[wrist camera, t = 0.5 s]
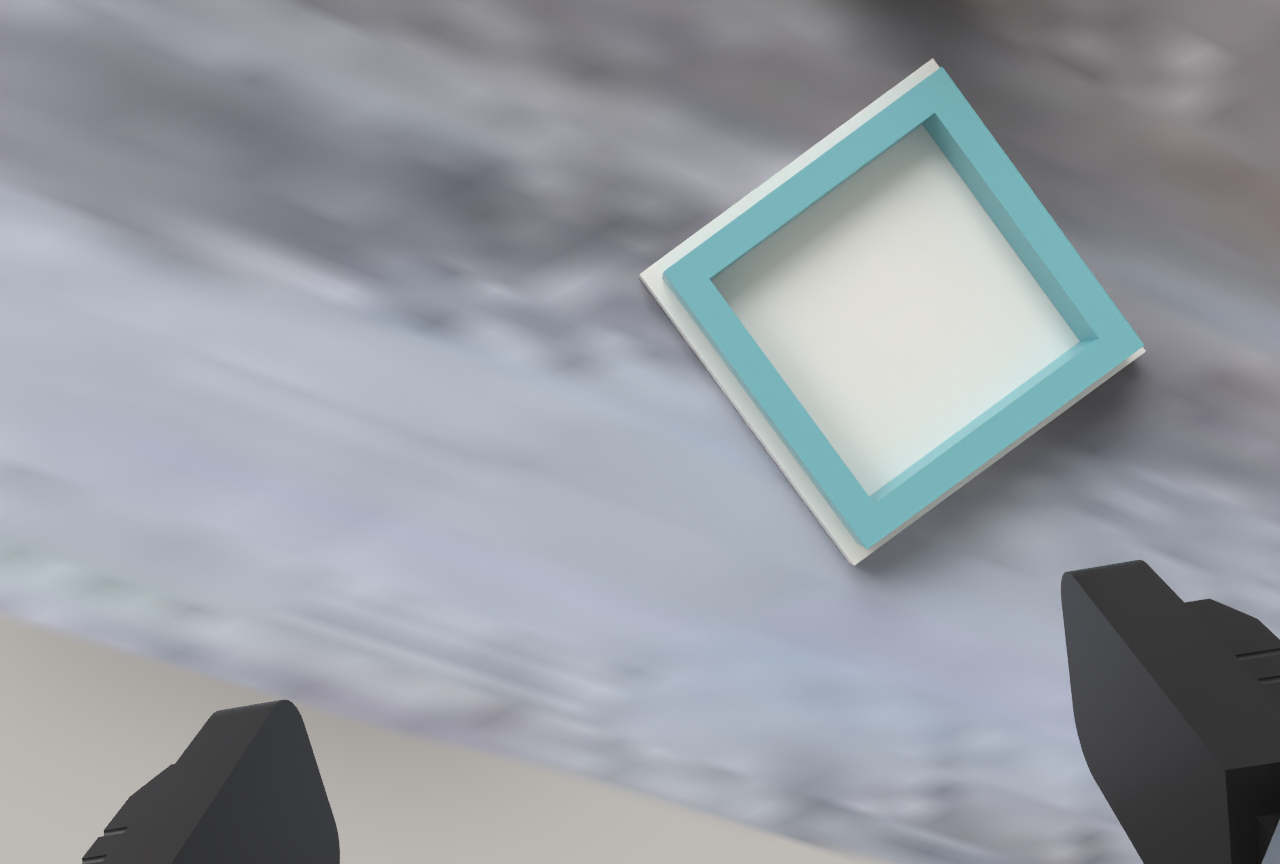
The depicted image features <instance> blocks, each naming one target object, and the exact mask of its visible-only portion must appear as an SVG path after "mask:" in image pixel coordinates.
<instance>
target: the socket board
mask: <svg viewBox="0 0 1280 864" xmlns="http://www.w3.org/2000/svg"><path fill="white" fill-rule="evenodd" d="M640 279H641V280H642V282H643V283H644V284H645V286H646V287H647V289H648V290H649V291H650V293H651V294H652V295H653V297H654V298H655V299H656V301H657V302H658V303H659V305H660V306H661V308H662V309H663V310H664V312H665V313H666V314H667V316H668V317H669V318H670V320H671V321H672V323H673V324H674V325H675V327H676V328H677V329H678V331H679V332H680V333H681V335H682V336H683V338H684V339H685V340H686V342H687V343H688V344H689V346H690V347H691V348H692V350H693V351H694V352H695V354H696V355H697V357H698V358H699V359H700V361H701V362H702V363H703V365H704V366H705V367H706V369H707V370H708V372H709V373H710V374H711V376H712V377H713V378H714V380H715V381H716V382H717V384H718V385H719V387H720V388H721V389H722V391H723V392H724V393H725V395H726V396H727V397H728V399H729V400H730V401H731V403H732V404H733V406H734V407H735V408H736V410H737V411H738V412H739V414H740V415H741V416H742V418H743V419H744V421H745V422H746V423H747V425H748V426H749V427H750V429H751V430H752V431H753V433H754V434H755V436H756V437H757V438H758V440H759V441H760V442H761V444H762V445H763V446H764V448H765V449H766V450H767V452H768V453H769V455H770V456H771V457H772V459H773V460H774V461H775V463H776V464H777V465H778V467H779V468H780V470H781V471H782V472H783V474H784V475H785V476H786V478H787V479H788V480H789V482H790V483H791V485H792V486H793V487H794V489H795V490H796V491H797V493H798V494H799V495H800V497H801V498H802V499H803V501H804V502H805V504H806V505H807V506H808V508H809V509H810V510H811V512H812V513H813V514H814V516H815V517H816V519H817V520H818V521H819V523H820V524H821V525H822V527H823V528H824V529H825V531H826V532H827V533H828V535H829V536H830V538H831V539H832V540H833V542H834V543H835V544H836V546H837V547H838V548H839V550H840V551H841V553H842V554H843V555H844V557H845V558H846V559H847V561H848V562H849V563H851V564H852V565H854V566H855V565H856V564H858V563H859V562H860V561H862V560H863V559H864V558H866V557H867V556H869V555H870V554H871V553H873V552H874V551H875V550H877V549H878V548H879V547H881V546H882V545H883V544H885V543H886V542H888V541H889V540H890V539H892V538H893V537H894V536H896V535H897V534H898V533H900V532H901V531H902V530H904V529H905V528H907V527H908V526H909V525H911V524H912V523H913V522H915V521H916V520H917V519H919V518H920V517H922V516H923V515H924V514H926V513H927V512H928V511H930V510H931V509H932V508H934V507H935V506H936V505H938V504H939V503H941V502H942V501H943V500H945V499H946V498H947V497H949V496H950V495H951V494H953V493H954V492H955V491H957V490H958V489H960V488H961V487H962V486H964V485H965V484H966V483H968V482H969V481H970V480H972V479H973V478H974V477H976V476H977V475H979V474H980V473H981V472H983V471H984V470H985V469H987V468H988V467H989V466H991V465H992V464H994V463H995V462H996V461H998V460H999V459H1000V458H1002V457H1003V456H1004V455H1006V454H1007V453H1008V452H1010V451H1011V450H1013V449H1014V448H1015V447H1017V446H1018V445H1019V444H1021V443H1022V442H1023V441H1025V440H1026V439H1027V438H1029V437H1030V436H1032V435H1033V434H1034V433H1036V432H1037V431H1038V430H1040V429H1041V428H1042V427H1044V426H1045V425H1046V424H1048V423H1049V422H1051V421H1052V420H1053V419H1055V418H1056V417H1057V416H1059V415H1060V414H1061V413H1063V412H1064V411H1066V410H1067V409H1068V408H1070V407H1071V406H1072V405H1074V404H1075V403H1076V402H1078V401H1079V400H1080V399H1082V398H1083V397H1085V396H1086V395H1087V394H1089V393H1090V392H1091V391H1093V390H1094V389H1095V388H1097V387H1098V386H1099V385H1101V384H1102V383H1104V382H1105V381H1106V380H1108V379H1109V378H1110V377H1112V376H1113V375H1114V374H1116V373H1117V372H1119V371H1120V370H1121V369H1123V368H1124V367H1125V366H1127V365H1128V364H1129V363H1131V362H1132V361H1133V360H1135V359H1136V358H1138V357H1139V356H1140V355H1142V354H1143V353H1144V352H1146V351H1145V350H1144V348H1143V346H1144V344H1143V342H1142V341H1141V340H1140V338H1139V337H1138V335H1137V334H1136V333H1135V331H1134V330H1133V329H1132V327H1131V326H1130V324H1129V323H1128V322H1127V320H1126V319H1125V318H1124V316H1123V315H1122V313H1121V312H1120V311H1119V309H1118V308H1117V307H1116V305H1115V304H1114V302H1113V301H1112V300H1111V298H1110V297H1109V296H1108V294H1107V293H1106V291H1105V290H1104V289H1103V287H1102V286H1101V285H1100V283H1099V282H1098V280H1097V279H1096V278H1095V276H1094V275H1093V273H1092V272H1091V271H1090V269H1089V268H1088V267H1087V265H1086V264H1085V262H1084V261H1083V260H1082V258H1081V257H1080V256H1079V254H1078V253H1077V251H1076V250H1075V249H1074V247H1073V246H1072V245H1071V243H1070V242H1069V240H1068V239H1067V238H1066V236H1065V235H1064V234H1063V232H1062V231H1061V229H1060V228H1059V227H1058V225H1057V224H1056V223H1055V221H1054V220H1053V218H1052V217H1051V216H1050V214H1049V213H1048V212H1047V210H1046V209H1045V207H1044V206H1043V205H1042V203H1041V202H1040V201H1039V199H1038V198H1037V196H1036V195H1035V194H1034V192H1033V191H1032V189H1031V188H1030V187H1029V185H1028V184H1027V183H1026V181H1025V180H1024V178H1023V177H1022V176H1021V174H1020V173H1019V172H1018V170H1017V169H1016V167H1015V166H1014V165H1013V163H1012V162H1011V161H1010V159H1009V158H1008V156H1007V155H1006V154H1005V152H1004V151H1003V150H1002V148H1001V147H1000V145H999V144H998V143H997V141H996V140H995V139H994V137H993V136H992V134H991V133H990V132H989V130H988V129H987V128H986V126H985V125H984V123H983V122H982V121H981V119H980V118H979V117H978V115H977V114H976V112H975V111H974V110H973V108H972V107H971V105H970V104H969V103H968V101H967V100H966V99H965V97H964V96H963V94H962V93H961V92H960V90H959V89H958V88H957V86H956V85H955V83H954V82H953V81H952V79H951V78H950V77H949V75H948V74H947V72H946V71H945V70H944V68H943V67H939V66H938V65H937V63H936V62H935V61H934V59H933V58H932V59H931V60H930V61H928V62H927V63H926V64H924V65H923V66H921V67H920V68H919V69H917V70H916V71H915V72H913V73H912V74H911V75H909V76H908V77H907V78H905V79H904V80H902V81H901V82H900V83H898V84H897V85H896V86H894V87H893V88H892V89H890V90H889V91H888V92H886V93H885V94H883V95H882V96H881V97H879V98H878V99H877V100H875V101H874V102H873V103H871V104H870V105H869V106H867V107H866V108H864V109H863V110H862V111H860V112H859V113H858V114H856V115H855V116H854V117H852V118H851V119H850V120H848V121H847V122H845V123H844V124H843V125H841V126H840V127H839V128H837V129H836V130H835V131H833V132H832V133H831V134H829V135H828V136H827V137H825V138H824V139H822V140H821V141H820V142H818V143H817V144H816V145H814V146H813V147H812V148H810V149H809V150H808V151H806V152H805V153H803V154H802V155H801V156H799V157H798V158H797V159H795V160H794V161H793V162H791V163H790V164H789V165H787V166H786V167H784V168H783V169H782V170H780V171H779V172H778V173H776V174H775V175H774V176H772V177H771V178H770V179H768V180H767V181H765V182H764V183H763V184H761V185H760V186H759V187H757V188H756V189H755V190H753V191H752V192H751V193H749V194H748V195H746V196H745V197H744V198H742V199H741V200H740V201H738V202H737V203H736V204H734V205H733V206H732V207H730V208H729V209H727V210H726V211H725V212H723V213H722V214H721V215H719V216H718V217H717V218H715V219H714V220H713V221H711V222H710V223H709V224H707V225H706V226H704V227H703V228H702V229H700V230H699V231H698V232H696V233H695V234H694V235H692V236H691V237H690V238H688V239H687V240H685V241H684V242H683V243H681V244H680V245H679V246H677V247H676V248H675V249H673V250H672V251H671V252H669V253H668V254H666V255H665V256H664V257H662V258H661V259H660V260H658V261H657V262H656V263H654V264H653V265H652V266H650V267H649V268H647V269H646V270H645V271H643V272H642V273H641V274H640Z"/></svg>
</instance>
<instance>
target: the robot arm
mask: <svg viewBox="0 0 1280 864" xmlns="http://www.w3.org/2000/svg"><path fill="white" fill-rule="evenodd" d="M1061 599H1062V609H1063V618H1064V627H1065V637H1066V646H1067V655H1068V664H1069V674H1070V683H1071V692H1072V701H1073V710H1074V717H1075V723H1076V728H1077V732H1078V736H1079V740H1080V744H1081V747H1082V751H1083V754H1084V757H1085V760H1086V762H1087V765H1088V767H1089V769H1090V772H1091V774H1092V776H1093V778H1094V779H1095V781H1096V783H1097V784H1098V786H1099V788H1100V790H1101V791H1102V793H1103V795H1104V796H1105V798H1106V800H1107V801H1108V803H1109V805H1110V807H1111V808H1112V810H1113V812H1114V813H1115V815H1116V817H1117V818H1118V820H1119V822H1120V824H1121V825H1122V827H1123V829H1124V830H1125V832H1126V834H1127V836H1128V837H1129V839H1130V841H1131V842H1132V844H1133V846H1134V847H1135V849H1136V851H1137V853H1138V854H1139V856H1140V858H1141V859H1142V861H1143V863H1144V864H1280V640H1279V639H1278V638H1277V637H1276V636H1275V635H1274V634H1273V633H1272V632H1271V631H1270V630H1269V629H1268V628H1267V627H1265V626H1264V625H1263V624H1262V623H1261V622H1260V621H1259V620H1258V619H1256V618H1254V617H1252V616H1249V615H1247V614H1245V613H1242V612H1240V611H1238V610H1235V609H1233V608H1230V607H1228V606H1226V605H1223V604H1221V603H1219V602H1216V601H1214V600H1212V599H1205V600H1199V601H1193V602H1186V603H1184V602H1183V601H1182V600H1181V599H1180V598H1179V597H1178V596H1177V595H1176V594H1175V592H1174V591H1173V590H1172V589H1171V588H1170V587H1169V586H1168V585H1167V584H1166V583H1165V582H1164V581H1163V580H1162V579H1161V578H1160V577H1159V576H1158V575H1157V574H1156V573H1155V572H1154V571H1153V570H1152V569H1151V567H1150V566H1149V565H1148V564H1147V563H1145V562H1144V561H1142V560H1136V561H1130V562H1124V563H1118V564H1112V565H1106V566H1100V567H1094V568H1088V569H1082V570H1076V571H1069V572H1065V573H1064V574H1063V576H1062V581H1061ZM82 861H83V863H82V864H339V863H340V849H339V838H338V832H337V828H336V823H335V820H334V817H333V814H332V810H331V807H330V804H329V801H328V798H327V795H326V792H325V788H324V785H323V782H322V779H321V776H320V773H319V769H318V766H317V763H316V760H315V757H314V754H313V750H312V747H311V744H310V741H309V738H308V735H307V731H306V728H305V725H304V722H303V719H302V717H301V715H300V713H299V711H298V709H297V708H296V706H295V705H294V704H293V703H292V702H290V701H289V700H279V701H274V702H267V703H261V704H255V705H249V706H243V707H237V708H232V709H225V710H220V711H217V712H215V713H213V715H212V716H211V717H210V718H209V719H208V721H207V722H206V723H205V725H204V726H203V727H202V729H201V730H200V731H199V733H198V734H197V735H196V737H195V738H194V739H193V741H192V742H191V743H190V745H189V746H188V748H187V749H186V750H185V751H184V753H183V754H182V755H181V757H180V758H179V760H178V761H177V762H176V763H175V764H173V765H170V766H169V767H168V768H166V769H165V770H164V771H162V772H161V773H160V774H159V775H157V776H156V777H155V778H153V779H152V780H151V781H150V782H148V783H147V784H146V785H144V786H143V787H142V788H141V789H139V790H138V791H137V792H136V793H134V794H133V795H132V796H130V797H129V799H128V800H127V801H126V803H125V804H124V805H123V806H122V808H121V809H120V810H119V811H118V813H117V814H116V815H115V817H114V818H113V819H112V821H111V822H110V823H109V824H108V826H107V827H106V828H105V830H104V836H103V837H99V838H98V839H97V840H96V841H95V842H94V844H93V845H92V846H91V848H90V849H89V850H88V851H87V853H86V854H85V855H84V857H83V858H82Z"/></svg>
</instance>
